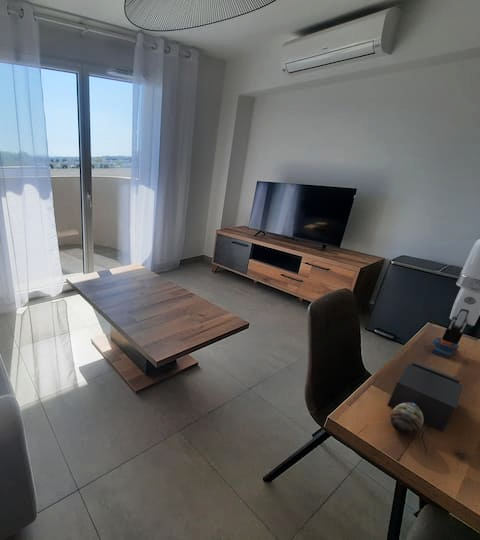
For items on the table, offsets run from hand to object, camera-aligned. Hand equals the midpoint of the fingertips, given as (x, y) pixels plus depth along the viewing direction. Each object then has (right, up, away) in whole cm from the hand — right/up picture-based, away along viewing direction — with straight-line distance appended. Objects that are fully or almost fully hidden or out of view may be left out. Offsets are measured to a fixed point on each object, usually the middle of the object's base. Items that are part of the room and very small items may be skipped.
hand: (451, 337), depth 86 cm
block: (+18, -9, +19) cm, 27 cm away
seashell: (-26, -21, -11) cm, 35 cm away
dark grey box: (-15, -19, -4) cm, 24 cm away
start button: (+18, -6, +17) cm, 26 cm away
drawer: (-9, -16, -1) cm, 19 cm away
